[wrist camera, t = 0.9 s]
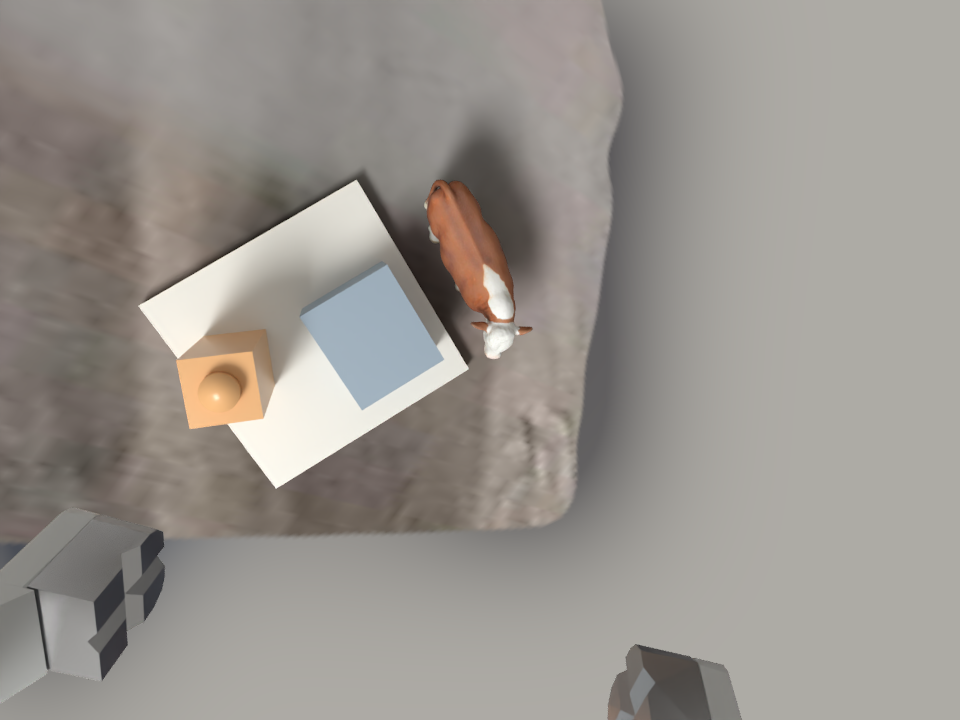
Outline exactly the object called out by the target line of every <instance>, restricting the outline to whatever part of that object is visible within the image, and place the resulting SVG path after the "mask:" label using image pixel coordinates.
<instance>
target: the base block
mask: <svg viewBox="0 0 960 720" xmlns="http://www.w3.org/2000/svg"><path fill="white" fill-rule="evenodd" d="M300 319H301V320H302V322H303V323H304V325H305V326H306V328H307V329H308V331H309V332H310V334H311V335H312V337H313V338H314V340H315V341H316V343H317V344H318V346H319V347H320V348H321V350H322V351H323V353H324V354H325V356H326V357H327V359H328V360H329V362H330V363H331V365H332V366H333V368H334V369H335V371H336V372H337V374H338V375H339V377H340V378H341V380H342V381H343V383H344V384H345V386H346V387H347V389H348V390H349V392H350V393H351V395H352V396H353V398H354V399H355V401H356V402H357V404H358V405H359V407H360V408H361V410H364V409H365V408H367V407H369V406H370V405H372V404H373V403H375V402H377V401H378V400H380V399H381V398H383V397H385V396H386V395H388V394H390V393H391V392H393V391H394V390H396V389H398V388H399V387H401V386H403V385H404V384H406V383H407V382H409V381H411V380H412V379H414V378H416V377H417V376H419V375H420V374H422V373H424V372H425V371H427V370H429V369H430V368H432V367H433V366H435V365H437V364H438V363H440V362H441V361H443V360H444V358H443V356H442V355H441V353H440V351H439V350H438V348H437V347H436V345H435V343H434V342H433V340H432V338H431V337H430V335H429V333H428V332H427V330H426V328H425V327H424V325H423V323H422V322H421V320H420V318H419V317H418V315H417V313H416V312H415V310H414V308H413V307H412V305H411V303H410V302H409V300H408V298H407V297H406V295H405V293H404V292H403V290H402V289H401V287H400V285H399V284H398V282H397V280H396V279H395V277H394V275H393V274H392V272H391V270H390V269H389V267H388V265H387V264H385V263H384V262H383V261H381V262H380V263H378V264H376V265H374V266H373V267H371V268H369V269H368V270H366V271H364V272H363V273H361V274H359V275H358V276H356V277H354V278H353V279H351V280H349V281H348V282H346V283H344V284H343V285H341V286H339V287H337V288H336V289H334V290H332V291H331V292H329V293H327V294H326V295H324V296H322V297H321V298H319V299H317V300H316V301H314V302H312V303H311V304H309V305H307V306H305V307H304V308H302V311H301V314H300Z"/></svg>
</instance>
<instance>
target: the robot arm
mask: <svg viewBox="0 0 960 720" xmlns="http://www.w3.org/2000/svg"><path fill="white" fill-rule="evenodd" d="M163 547H164V536H163V532H162V531H160V530H157V529H154V528H150V527H146V526H142V525H139V524H135V523H131V522H128V521H124V520H120V519H117V518H113V517H109V516H105V515H101V514H97V513H93V512H89V511H85V510H81V509H78V508H74V507H72V508H70V509H68V510H66V511H63V512H62V513H60V514H59V515H58V516H57V517H56V518H55V519H54V520H53V521H52V522H51V523H50V524H49V525H48V526H47V527H45V528H44V529H43V530H42V531H41V532H40V533H39V534H38V535H37V536H36V537H35V538H34V539H33V540H32V541H31V542H30V543H29V544H27V545H26V546H25V547H24V548H23V549H22V550H21V551H20V552H19V553H18V554H17V555H16V556H15V557H14V558H13V559H12V560H11V561H9V562H8V563H7V564H6V565H5V566H4V567H3V568H2V569H1V570H0V703H2V702H3V701H5V700H7V699H8V698H10V697H11V696H13V695H15V694H16V693H18V692H19V691H21V690H22V689H24V688H26V687H27V686H29V685H30V684H32V683H33V682H35V681H37V680H38V679H39V678H41V677H43V676H44V675H46V674H47V670H50V671H54V672H59V673H64V674H69V675H73V676H78V677H83V678H88V679H93V680H97V681H102V680H103V679H104V678H105V676H106V675H107V673H108V672H109V671H110V669H111V668H112V666H113V665H114V664H115V662H116V661H117V659H118V658H119V657H120V655H121V654H122V652H123V651H124V650H125V648H126V647H127V645H128V641H127V631H128V630H130V629H132V628H133V627H135V626H137V625H139V624H141V623H143V622H144V621H145V620H146V618H147V617H148V615H149V614H150V612H151V611H152V610H153V608H154V606H155V604H156V602H157V600H158V598H159V595H160V593H161V591H162V587H163V583H164V578H165V565H164V564H163V563H162V561H161V560H160V559H159V558H158V556H157V555H158V554H159V553H160V551H161V550H162V549H163ZM626 666H627V670H626V671H624V672H622V673H620V674H618V675H617V676H616V678H615V681H614V683H613V685H612V688H611V692H610V698H609V702H608V720H742V718H741V716H740V712H739V708H738V705H737V701H736V698H735V694H734V691H733V687H732V684H731V680H730V677H729V674H728V671H727V669H726V668H725V667H724V665H721V664H718V663H713V662H709V661H705V660H701V659H697V658H691V657H690V656H686V655H681V654H677V653H672V652H668V651H664V650H659V649H654V648H651V647H646V646H642V645H637V644H635V645H634V646H633V647H631V648H630V650H629V652H628V654H627V656H626Z"/></svg>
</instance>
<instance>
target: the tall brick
mask: <svg viewBox="0 0 960 720" xmlns="http://www.w3.org/2000/svg"><path fill="white" fill-rule="evenodd" d="M176 362H177V367H178V372H179V377H180V382H181V387H182V392H183V397H184V402H185V408H186V413H187V418H188V423H189V428H190V429H194V428H201V427H208V426H215V425H222V424H230V423H237V422H244V421H251V420H258V419H264V416H265V413H266V410H267V407H268V404H269V401H270V398H271V395H272V393H273V390H274V387H275V383H274V376H273V370H272V364H271V358H270V351H269V345H268V339H267V333H266V329H262V330H253V331H244V332H235V333H226V334H217V335H208V336H203V337H202V338H201V339H200V340H199V341H197V342H196V343H195V344H194V345H193V346H192V347H191V348H190V349H188V350H187V351H186V352H185V353H184V354H183V355H182V356H181V357H179V358H178V359H177V360H176Z"/></svg>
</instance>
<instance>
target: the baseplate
mask: <svg viewBox="0 0 960 720" xmlns="http://www.w3.org/2000/svg"><path fill="white" fill-rule="evenodd" d="M381 261H383V262H384V263H385V264H387V265H388V267H389V269H390V270H391V272H392V274H393V275H394V277H395V279H396V280H397V282H398V284H399V285H400V287H401V289H402V290H403V292H404V293H405V295H406V297H407V298H408V300H409V302H410V303H411V305H412V307H413V308H414V310H415V312H416V313H417V315H418V317H419V318H420V320H421V322H422V323H423V325H424V327H425V328H426V330H427V332H428V333H429V335H430V337H431V338H432V340H433V342H434V343H435V345H436V347H437V348H438V350H439V351H440V353H441V355H442V356H443V358H444V360H443V361H441V362H440V363H438V364H437V365H435V366H433V367H432V368H430V369H429V370H427V371H425V372H424V373H422V374H420V375H419V376H417V377H416V378H414V379H412V380H411V381H409V382H407V383H406V384H404V385H403V386H401V387H399V388H398V389H396V390H394V391H393V392H391V393H390V394H388V395H386V396H385V397H383V398H381V399H380V400H378V401H377V402H375V403H373V404H372V405H370V406H369V407H367V408H365V409H364V410H361V408H360V407H359V405H358V404H357V402H356V401H355V399H354V398H353V396H352V395H351V393H350V392H349V390H348V389H347V387H346V386H345V384H344V383H343V381H342V380H341V378H340V377H339V375H338V374H337V372H336V371H335V369H334V368H333V366H332V365H331V363H330V362H329V360H328V359H327V357H326V356H325V354H324V353H323V351H322V350H321V348H320V347H319V346H318V344H317V343H316V341H315V340H314V338H313V337H312V335H311V334H310V332H309V331H308V329H307V328H306V326H305V325H304V323H303V322H302V320H301V319H300V314H301V311H302V308H304V307H305V306H307V305H309V304H311V303H312V302H314V301H316V300H317V299H319V298H321V297H322V296H324V295H326V294H327V293H329V292H331V291H332V290H334V289H336V288H337V287H339V286H341V285H343V284H344V283H346V282H348V281H349V280H351V279H353V278H354V277H356V276H358V275H359V274H361V273H363V272H364V271H366V270H368V269H369V268H371V267H373V266H374V265H376V264H378V263H380V262H381ZM139 307H140V309H141V310H142V311H143V313H144V314H145V315H146V317H147V318H148V319H149V321H150V322H151V323H152V325H153V326H154V327H155V329H156V330H157V331H158V333H159V334H160V335H161V337H162V338H163V339H164V341H165V342H166V343H167V345H168V346H169V347H170V349H171V350H172V351H173V353H174V354H175V355H176V357H177V358H179V357H181V356H182V355H183V354H184V353H185V352H186V351H187V350H188V349H190V348H191V347H192V346H193V345H194V344H195V343H196V342H197V341H199V340H200V339H201V338H202V337H203V336H208V335H217V334H226V333H235V332H244V331H253V330H262V329H266V333H267V339H268V345H269V351H270V358H271V364H272V370H273V376H274V383H275V387H274V390H273V393H272V395H271V398H270V401H269V404H268V407H267V410H266V413H265V416H264V419H258V420H251V421H244V422H237V423H230V424H228V425H229V427H230V428H231V429H232V431H233V432H234V433H235V435H236V436H237V437H238V439H239V440H240V441H241V443H242V444H243V445H244V447H245V448H246V449H247V451H248V452H249V453H250V455H251V456H252V457H253V459H254V460H255V461H256V463H257V464H258V465H259V466H260V468H261V469H262V470H263V472H264V473H265V474H266V476H267V477H268V478H269V480H270V481H271V482H272V484H273V485H274V486H275V488H278V487H279V486H281V485H283V484H284V483H286V482H287V481H289V480H291V479H292V478H294V477H296V476H297V475H299V474H300V473H302V472H304V471H305V470H307V469H308V468H310V467H312V466H313V465H315V464H316V463H318V462H320V461H321V460H323V459H325V458H326V457H328V456H329V455H331V454H333V453H334V452H336V451H337V450H339V449H341V448H342V447H344V446H345V445H347V444H349V443H350V442H352V441H354V440H355V439H357V438H358V437H360V436H362V435H363V434H365V433H366V432H368V431H370V430H371V429H373V428H374V427H376V426H378V425H379V424H381V423H383V422H384V421H386V420H387V419H389V418H391V417H392V416H394V415H395V414H397V413H399V412H400V411H402V410H403V409H405V408H407V407H408V406H410V405H412V404H413V403H415V402H416V401H418V400H420V399H421V398H423V397H424V396H426V395H428V394H429V393H431V392H432V391H434V390H436V389H437V388H439V387H441V386H442V385H444V384H445V383H447V382H449V381H450V380H452V379H453V378H455V377H457V376H458V375H460V374H461V373H463V372H465V371H466V370H468V369H469V368H468V367H467V365H466V363H465V362H464V360H463V358H462V357H461V355H460V353H459V352H458V350H457V348H456V346H455V345H454V343H453V341H452V340H451V338H450V336H449V335H448V333H447V331H446V330H445V328H444V326H443V325H442V323H441V321H440V319H439V318H438V316H437V314H436V313H435V311H434V309H433V308H432V306H431V304H430V303H429V301H428V299H427V298H426V296H425V294H424V293H423V291H422V289H421V287H420V286H419V284H418V282H417V281H416V279H415V277H414V276H413V274H412V272H411V271H410V269H409V267H408V266H407V264H406V262H405V260H404V259H403V257H402V255H401V254H400V252H399V250H398V249H397V247H396V245H395V244H394V242H393V240H392V239H391V237H390V235H389V233H388V232H387V230H386V228H385V227H384V225H383V223H382V222H381V220H380V218H379V217H378V215H377V213H376V212H375V210H374V208H373V206H372V205H371V203H370V201H369V200H368V198H367V196H366V195H365V193H364V191H363V190H362V188H361V186H360V185H359V183H358V181H357V180H355V181H353V182H352V183H350V184H348V185H347V186H345V187H343V188H341V189H340V190H338V191H336V192H334V193H333V194H331V195H329V196H328V197H326V198H324V199H322V200H321V201H319V202H317V203H315V204H314V205H312V206H310V207H309V208H307V209H305V210H303V211H302V212H300V213H298V214H296V215H295V216H293V217H291V218H290V219H288V220H286V221H284V222H283V223H281V224H279V225H277V226H276V227H274V228H272V229H271V230H269V231H267V232H265V233H264V234H262V235H260V236H258V237H257V238H255V239H253V240H252V241H250V242H248V243H246V244H245V245H243V246H241V247H239V248H238V249H236V250H234V251H233V252H231V253H229V254H227V255H226V256H224V257H222V258H220V259H219V260H217V261H215V262H213V263H212V264H210V265H208V266H207V267H205V268H203V269H201V270H200V271H198V272H196V273H194V274H193V275H191V276H189V277H188V278H186V279H184V280H182V281H181V282H179V283H177V284H175V285H174V286H172V287H170V288H169V289H167V290H165V291H163V292H162V293H160V294H158V295H156V296H155V297H153V298H151V299H150V300H148V301H146V302H144V303H143V304H141V305H139Z"/></svg>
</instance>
